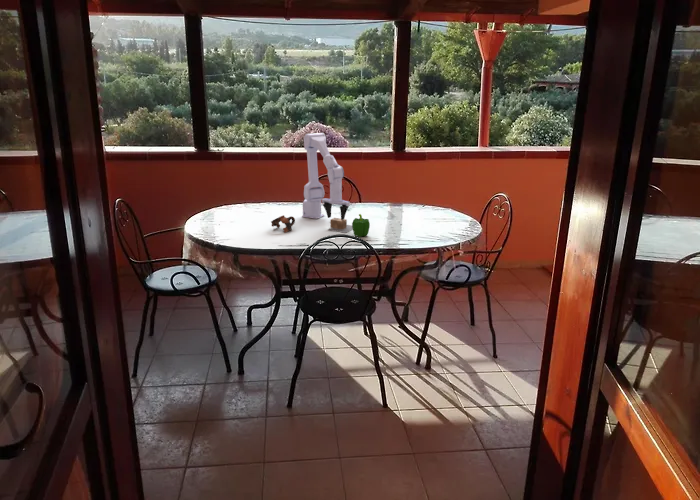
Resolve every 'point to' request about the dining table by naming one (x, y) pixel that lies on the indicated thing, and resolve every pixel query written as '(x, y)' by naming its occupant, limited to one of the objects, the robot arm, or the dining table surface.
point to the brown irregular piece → (285, 221)
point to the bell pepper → (360, 226)
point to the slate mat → (345, 230)
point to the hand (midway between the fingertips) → (336, 218)
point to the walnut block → (338, 223)
